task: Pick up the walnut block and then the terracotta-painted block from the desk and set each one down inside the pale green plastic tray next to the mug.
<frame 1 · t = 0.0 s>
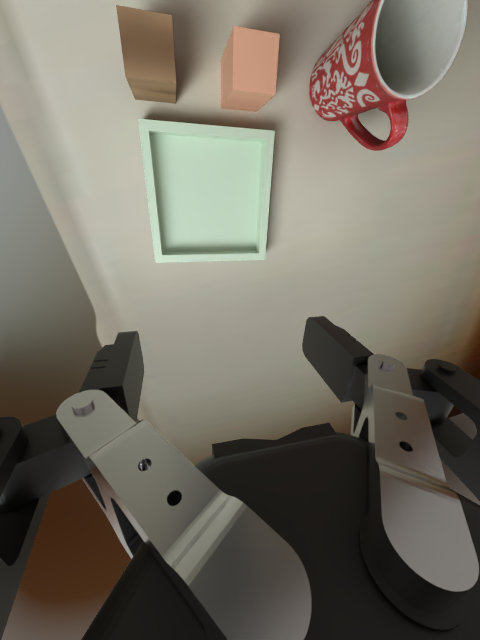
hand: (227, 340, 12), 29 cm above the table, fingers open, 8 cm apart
walnut block: (153, 76, 29), on the table
terracotta block: (239, 86, 31), on the table
tray: (209, 199, 36), on the table
mug: (333, 103, 34), on the table
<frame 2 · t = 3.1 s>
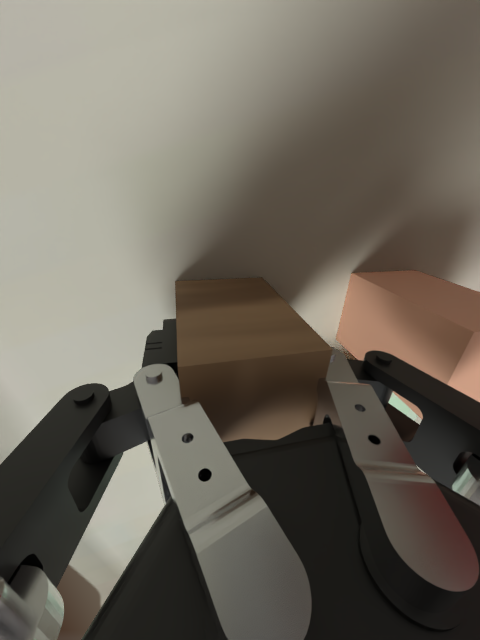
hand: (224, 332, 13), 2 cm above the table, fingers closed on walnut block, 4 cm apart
walnut block: (220, 318, 14), on the table, touching gripper
terracotta block: (374, 305, 16), on the table
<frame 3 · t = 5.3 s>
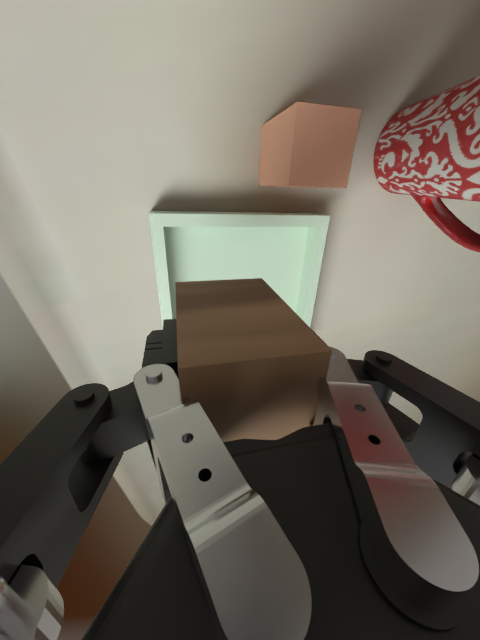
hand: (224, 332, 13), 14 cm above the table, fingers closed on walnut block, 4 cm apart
walnut block: (220, 318, 14), point 13 cm above the table, touching gripper
terracotta block: (284, 158, 23), on the table
tray: (237, 291, 28), on the table
mug: (401, 171, 26), on the table
when the fingers open (4 cm above the table, at t = 7.5 s): walnut block drops 2 cm, resting on tray.
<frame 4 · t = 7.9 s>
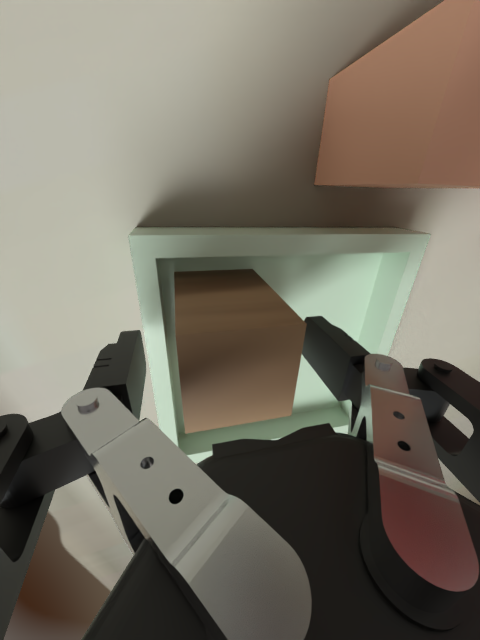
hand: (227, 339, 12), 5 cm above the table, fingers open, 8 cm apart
walnut block: (215, 306, 16), point 1 cm above the table, touching tray
terracotta block: (358, 139, 14), on the table
tray: (269, 343, 19), on the table
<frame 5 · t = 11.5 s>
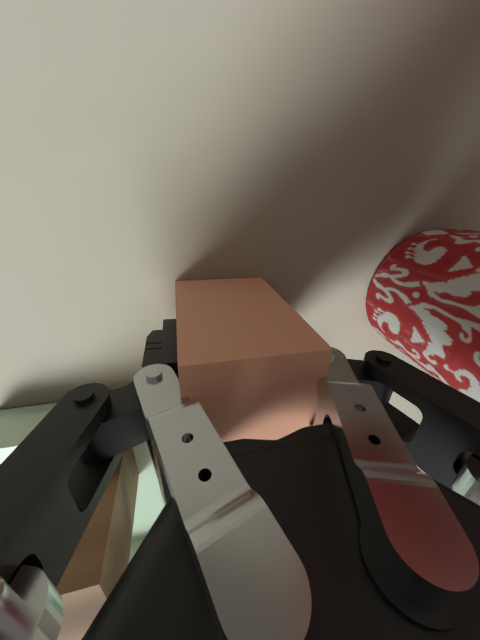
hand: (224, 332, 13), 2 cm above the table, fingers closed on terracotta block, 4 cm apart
walnut block: (95, 459, 16), point 1 cm above the table, touching tray
terracotta block: (220, 318, 14), on the table, touching gripper
tray: (167, 472, 19), on the table
mug: (408, 308, 17), on the table
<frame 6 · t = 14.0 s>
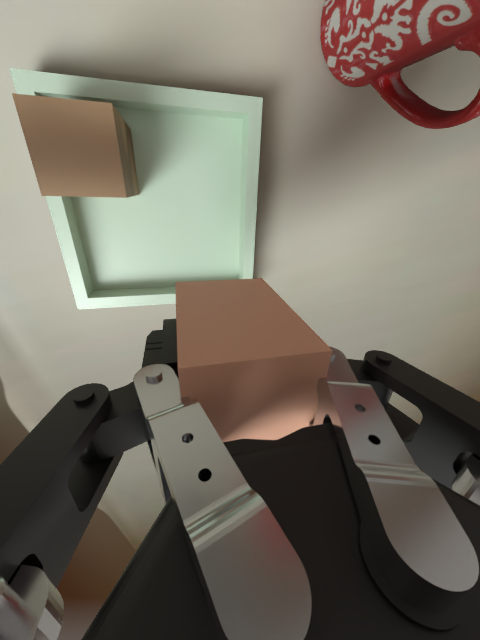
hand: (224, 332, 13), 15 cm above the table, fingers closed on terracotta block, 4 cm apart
walnut block: (104, 161, 20), point 1 cm above the table, touching tray
terracotta block: (220, 318, 14), point 13 cm above the table, touching gripper
tray: (162, 210, 23), on the table
mug: (358, 58, 21), on the table
when the fingers open (4 cm above the table, at t = 16.3 s): terracotta block drops 2 cm, resting on tray.
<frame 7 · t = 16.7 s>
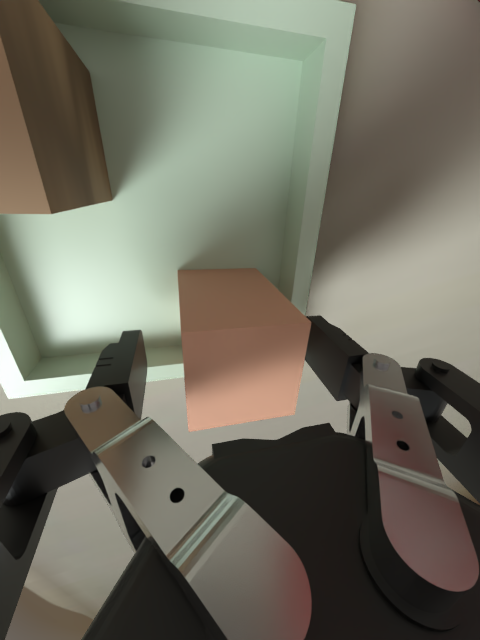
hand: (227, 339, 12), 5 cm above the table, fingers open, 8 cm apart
walnut block: (42, 138, 10), point 1 cm above the table, touching tray
terracotta block: (217, 305, 16), point 1 cm above the table, touching tray
tray: (155, 227, 13), on the table
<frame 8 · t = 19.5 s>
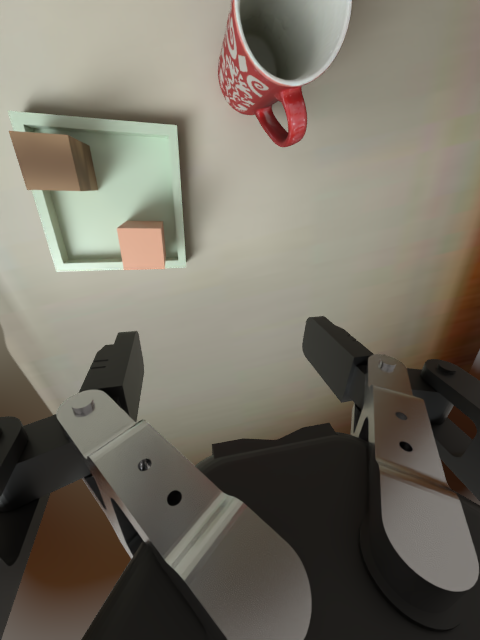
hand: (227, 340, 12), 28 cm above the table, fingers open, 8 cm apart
walnut block: (72, 167, 29), point 1 cm above the table, touching tray
terracotta block: (147, 238, 35), point 1 cm above the table, touching tray
tray: (116, 201, 32), on the table
mug: (250, 95, 31), on the table
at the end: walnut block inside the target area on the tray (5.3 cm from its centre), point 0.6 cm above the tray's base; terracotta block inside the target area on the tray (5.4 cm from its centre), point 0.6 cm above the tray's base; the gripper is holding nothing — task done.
